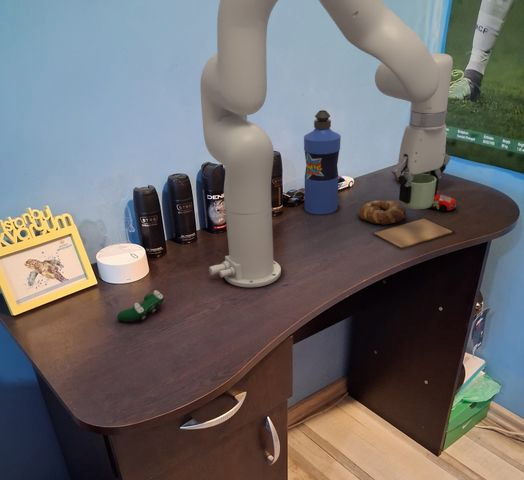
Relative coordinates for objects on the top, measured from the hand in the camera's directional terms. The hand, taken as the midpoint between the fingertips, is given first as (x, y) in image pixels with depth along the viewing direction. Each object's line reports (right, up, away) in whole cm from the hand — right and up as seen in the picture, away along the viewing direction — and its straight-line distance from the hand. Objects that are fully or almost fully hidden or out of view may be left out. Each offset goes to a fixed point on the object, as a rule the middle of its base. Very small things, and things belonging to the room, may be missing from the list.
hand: (417, 197), depth 128 cm
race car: (+9, +3, +19) cm, 22 cm away
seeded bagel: (-5, -2, +14) cm, 15 cm away
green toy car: (-60, -29, -20) cm, 70 cm away
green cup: (0, -1, +1) cm, 1 cm away
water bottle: (-21, +3, +22) cm, 30 cm away
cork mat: (0, -7, +5) cm, 9 cm away
